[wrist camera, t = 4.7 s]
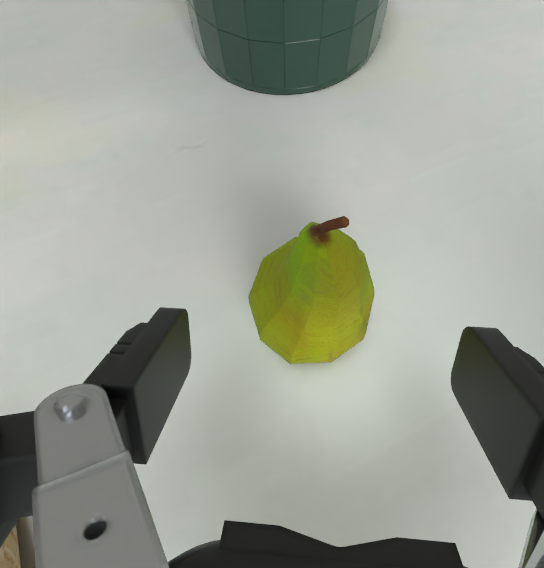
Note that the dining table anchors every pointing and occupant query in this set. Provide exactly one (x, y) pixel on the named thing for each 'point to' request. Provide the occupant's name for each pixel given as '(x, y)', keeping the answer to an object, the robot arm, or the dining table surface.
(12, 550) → the ice cream cone
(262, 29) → the pot
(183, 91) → the dining table surface
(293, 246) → the fruit
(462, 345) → the robot arm
